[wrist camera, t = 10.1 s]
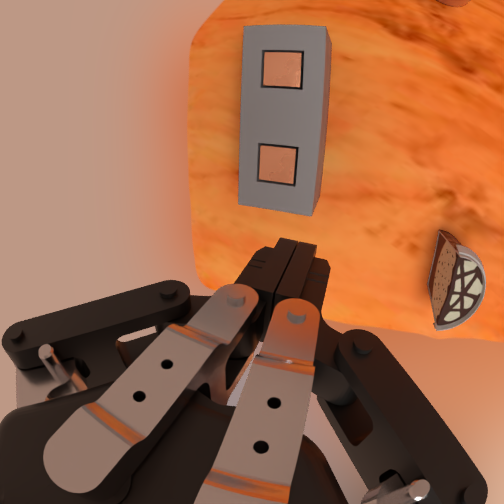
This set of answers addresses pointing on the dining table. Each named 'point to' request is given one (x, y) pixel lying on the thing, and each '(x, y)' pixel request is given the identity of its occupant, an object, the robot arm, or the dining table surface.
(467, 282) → the half cake
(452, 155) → the dining table surface
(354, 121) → the dining table surface
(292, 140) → the guide block
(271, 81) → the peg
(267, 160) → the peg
